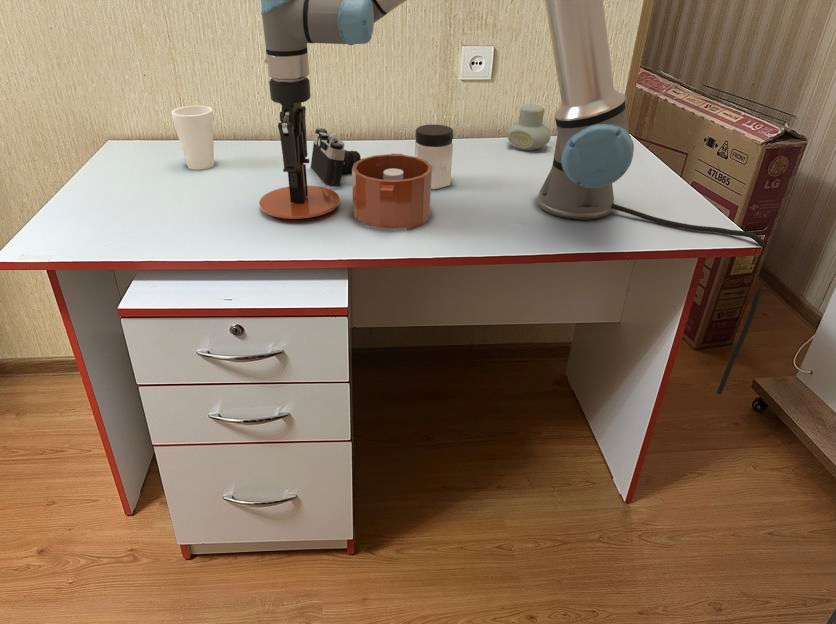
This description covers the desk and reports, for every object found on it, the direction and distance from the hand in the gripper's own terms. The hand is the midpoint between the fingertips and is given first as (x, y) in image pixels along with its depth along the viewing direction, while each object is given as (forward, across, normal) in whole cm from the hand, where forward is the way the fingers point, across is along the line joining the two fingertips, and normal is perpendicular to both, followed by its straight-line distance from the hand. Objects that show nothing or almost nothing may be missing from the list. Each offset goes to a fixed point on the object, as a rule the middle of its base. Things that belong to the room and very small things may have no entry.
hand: (299, 198), depth 131 cm
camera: (+3, -21, +5) cm, 22 cm away
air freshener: (+3, -48, +50) cm, 69 cm away
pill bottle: (+3, -1, +19) cm, 20 cm away
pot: (+3, 0, +19) cm, 19 cm away
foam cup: (+3, -25, -30) cm, 40 cm away
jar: (+3, -19, +26) cm, 33 cm away
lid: (+1, 0, 0) cm, 1 cm away
